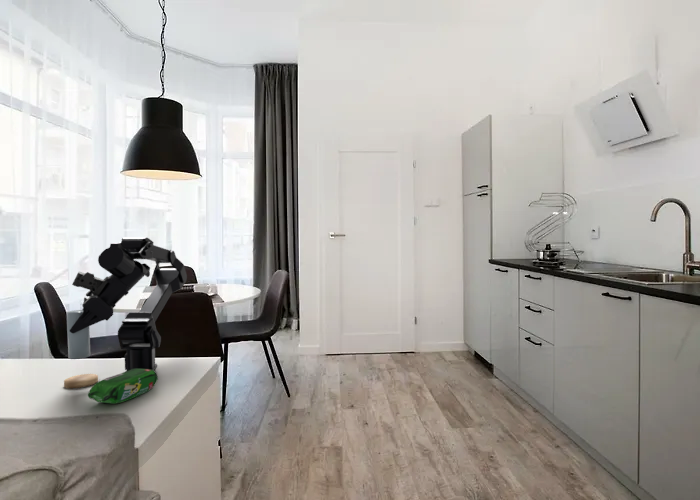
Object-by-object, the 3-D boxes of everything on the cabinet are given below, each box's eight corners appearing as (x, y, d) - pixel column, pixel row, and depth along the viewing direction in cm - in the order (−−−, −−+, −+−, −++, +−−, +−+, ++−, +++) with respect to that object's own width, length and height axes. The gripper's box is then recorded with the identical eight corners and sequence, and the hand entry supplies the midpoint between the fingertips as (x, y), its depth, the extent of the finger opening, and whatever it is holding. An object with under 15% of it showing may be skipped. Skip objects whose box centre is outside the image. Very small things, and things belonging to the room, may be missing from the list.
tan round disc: (102, 377, 108) (102, 373, 108) (91, 387, 101) (91, 382, 101) (72, 379, 107) (71, 374, 107) (58, 389, 100) (58, 384, 100)
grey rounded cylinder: (94, 353, 105) (92, 309, 105) (83, 359, 101) (81, 313, 100) (76, 353, 105) (74, 309, 105) (64, 359, 101) (62, 313, 100)
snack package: (80, 409, 89) (80, 384, 89) (140, 383, 104) (140, 362, 104) (106, 414, 87) (105, 388, 87) (163, 387, 101) (163, 366, 101)
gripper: (94, 257, 112) (45, 303, 107) (94, 262, 96) (36, 316, 91) (129, 285, 117) (83, 330, 111) (134, 293, 101) (81, 346, 95)
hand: (71, 330), depth 102 cm, fingers closed on grey rounded cylinder, 4 cm apart
